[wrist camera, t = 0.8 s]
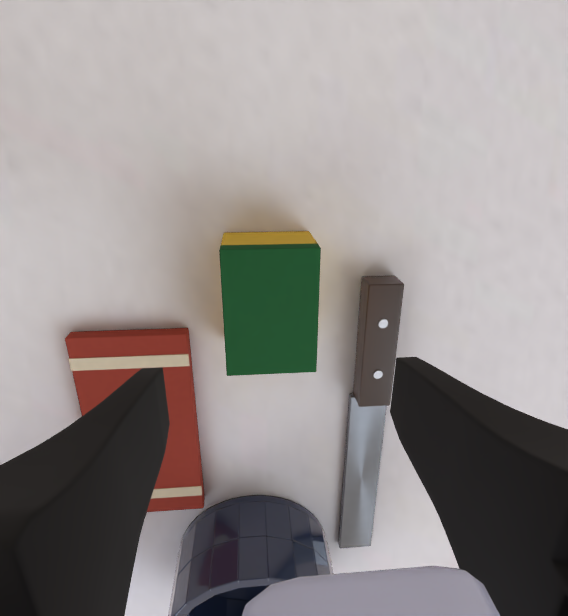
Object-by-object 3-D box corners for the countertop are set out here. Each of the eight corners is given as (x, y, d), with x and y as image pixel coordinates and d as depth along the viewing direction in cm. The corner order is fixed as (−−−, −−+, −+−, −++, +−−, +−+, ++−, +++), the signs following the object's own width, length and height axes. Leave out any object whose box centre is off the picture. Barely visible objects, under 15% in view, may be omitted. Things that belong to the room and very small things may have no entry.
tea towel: (107, 504, 26) (103, 516, 25) (70, 331, 21) (63, 338, 20) (204, 498, 26) (203, 509, 25) (188, 327, 22) (186, 334, 21)
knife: (338, 543, 29) (343, 563, 27) (357, 276, 21) (365, 285, 20) (369, 541, 29) (375, 560, 28) (398, 275, 22) (409, 284, 20)
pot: (186, 603, 30) (174, 698, 25) (172, 500, 26) (155, 587, 21) (323, 592, 31) (338, 681, 26) (328, 490, 27) (348, 571, 22)
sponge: (229, 342, 22) (226, 376, 19) (223, 232, 20) (219, 249, 17) (306, 340, 23) (316, 372, 19) (309, 231, 20) (320, 247, 17)
